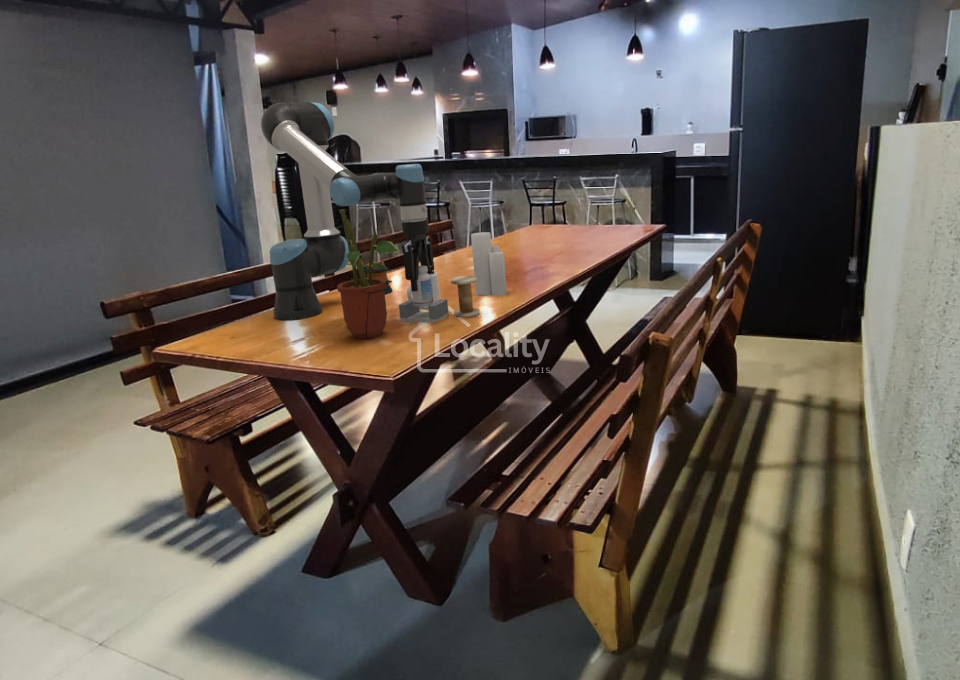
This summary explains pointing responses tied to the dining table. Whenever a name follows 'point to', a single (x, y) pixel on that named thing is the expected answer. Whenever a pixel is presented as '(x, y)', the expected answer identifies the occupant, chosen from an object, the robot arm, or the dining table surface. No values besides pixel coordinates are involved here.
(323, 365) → the dining table surface
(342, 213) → the potted plant
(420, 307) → the mug
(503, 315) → the dining table surface
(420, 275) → the pill bottle
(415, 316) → the notch board
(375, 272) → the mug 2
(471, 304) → the wooden thread spool
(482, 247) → the vase
